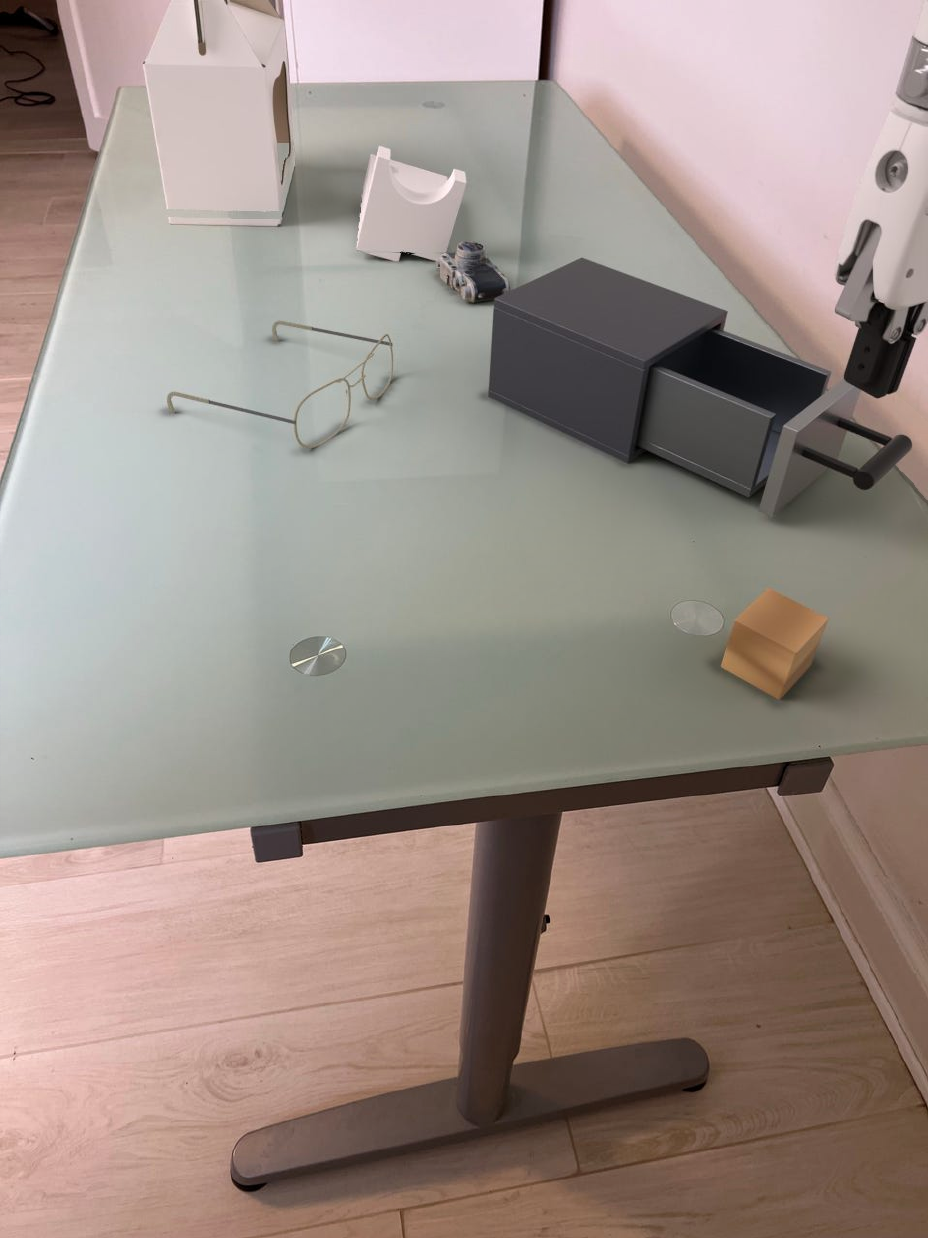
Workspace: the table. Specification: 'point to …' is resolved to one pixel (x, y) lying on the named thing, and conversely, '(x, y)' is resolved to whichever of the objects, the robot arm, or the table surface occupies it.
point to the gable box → (221, 108)
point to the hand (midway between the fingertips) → (869, 386)
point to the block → (773, 642)
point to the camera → (472, 273)
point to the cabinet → (589, 349)
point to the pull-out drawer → (755, 419)
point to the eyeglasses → (275, 338)
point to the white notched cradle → (407, 208)
